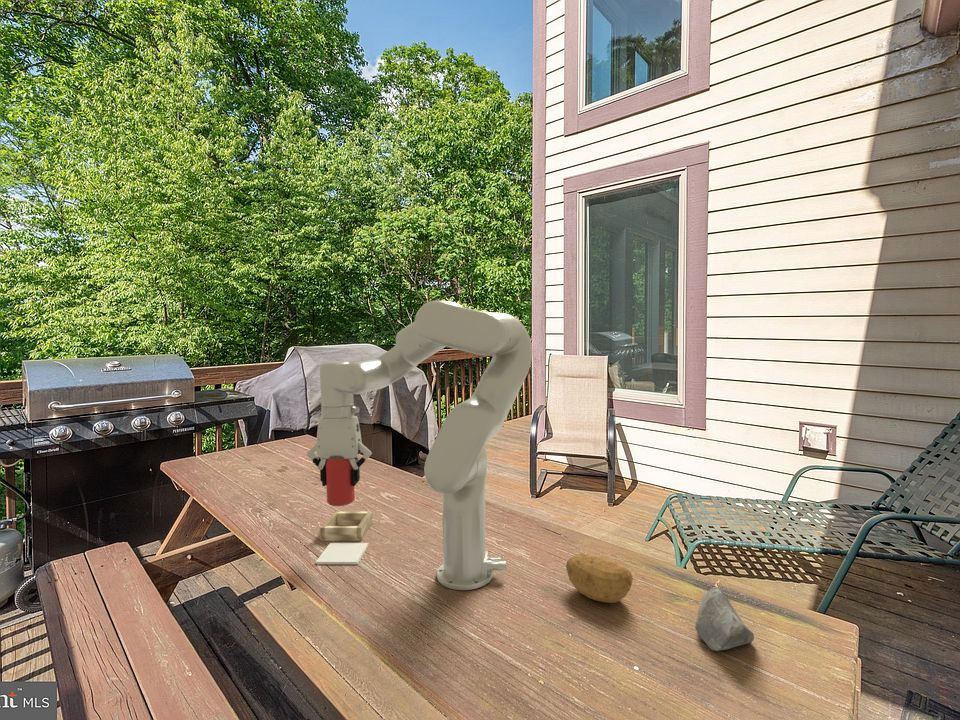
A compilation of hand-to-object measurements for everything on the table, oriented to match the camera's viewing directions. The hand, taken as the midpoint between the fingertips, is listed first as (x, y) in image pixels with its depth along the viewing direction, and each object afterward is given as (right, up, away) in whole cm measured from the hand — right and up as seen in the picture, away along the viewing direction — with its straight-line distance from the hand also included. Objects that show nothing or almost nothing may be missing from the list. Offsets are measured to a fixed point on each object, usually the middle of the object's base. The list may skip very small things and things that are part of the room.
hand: (340, 483), depth 118 cm
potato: (+59, -19, -19) cm, 64 cm away
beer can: (0, -5, 0) cm, 5 cm away
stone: (+77, -20, -33) cm, 86 cm away
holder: (-2, -17, +14) cm, 22 cm away
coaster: (0, -18, +1) cm, 18 cm away
